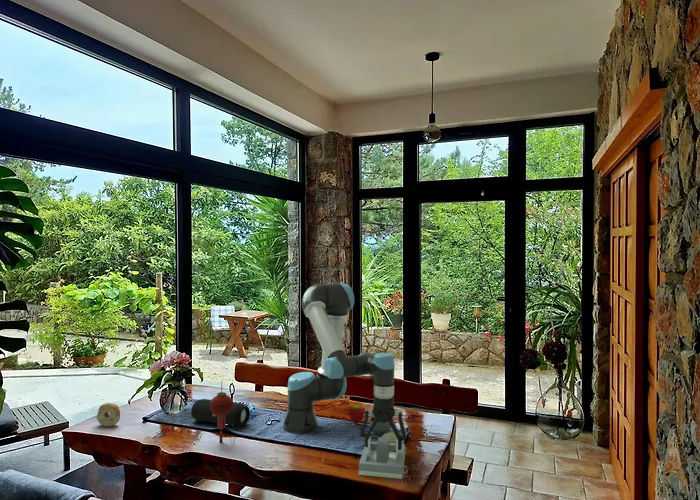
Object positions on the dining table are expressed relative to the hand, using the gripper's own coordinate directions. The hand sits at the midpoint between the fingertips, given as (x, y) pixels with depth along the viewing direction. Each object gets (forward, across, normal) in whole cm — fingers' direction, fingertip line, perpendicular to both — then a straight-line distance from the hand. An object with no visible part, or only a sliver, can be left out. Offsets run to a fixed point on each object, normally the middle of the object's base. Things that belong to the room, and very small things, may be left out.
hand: (383, 456), depth 172 cm
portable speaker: (+3, -77, +27) cm, 82 cm away
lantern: (+3, -67, +7) cm, 67 cm away
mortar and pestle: (+3, -4, +26) cm, 26 cm away
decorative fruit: (+3, -16, +38) cm, 41 cm away
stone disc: (+3, -124, +15) cm, 125 cm away
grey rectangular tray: (+3, 0, 0) cm, 3 cm away
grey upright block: (+1, 0, 0) cm, 1 cm away
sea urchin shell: (+3, +2, +18) cm, 19 cm away
